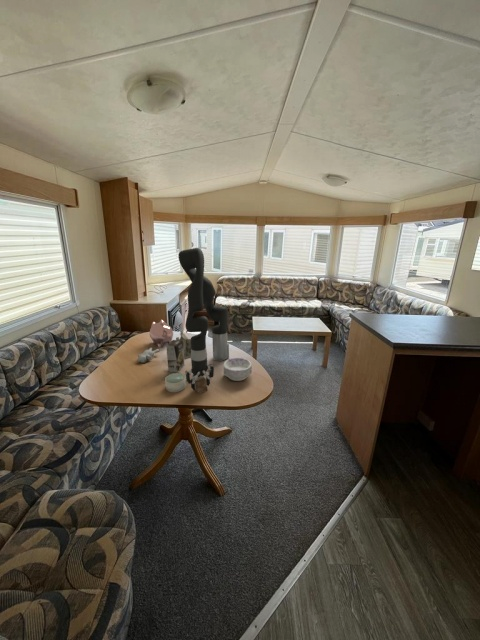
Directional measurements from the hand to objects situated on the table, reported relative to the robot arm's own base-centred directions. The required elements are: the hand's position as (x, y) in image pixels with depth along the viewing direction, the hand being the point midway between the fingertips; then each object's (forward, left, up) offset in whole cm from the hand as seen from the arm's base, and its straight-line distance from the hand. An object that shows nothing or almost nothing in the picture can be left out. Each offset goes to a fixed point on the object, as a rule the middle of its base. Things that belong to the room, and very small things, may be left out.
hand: (200, 387), depth 129 cm
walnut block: (0, 0, -1) cm, 1 cm away
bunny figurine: (+16, -50, -2) cm, 53 cm away
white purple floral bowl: (-22, -2, -2) cm, 22 cm away
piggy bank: (+2, -71, -2) cm, 71 cm away
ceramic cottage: (-8, -44, -2) cm, 45 cm away
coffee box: (+4, -28, -2) cm, 28 cm away
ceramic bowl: (+10, -9, -1) cm, 13 cm away
